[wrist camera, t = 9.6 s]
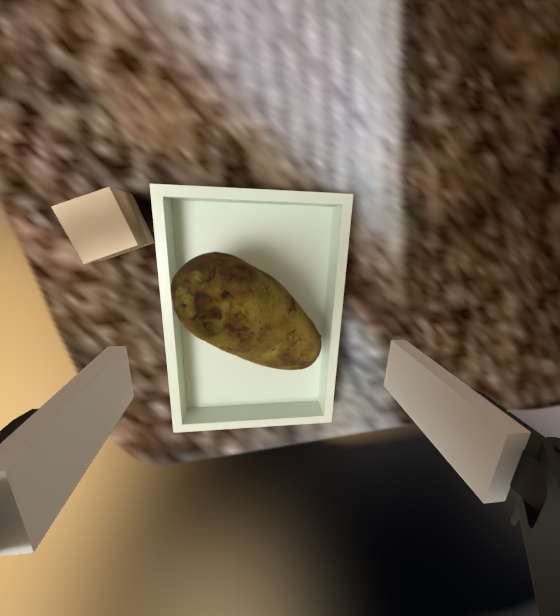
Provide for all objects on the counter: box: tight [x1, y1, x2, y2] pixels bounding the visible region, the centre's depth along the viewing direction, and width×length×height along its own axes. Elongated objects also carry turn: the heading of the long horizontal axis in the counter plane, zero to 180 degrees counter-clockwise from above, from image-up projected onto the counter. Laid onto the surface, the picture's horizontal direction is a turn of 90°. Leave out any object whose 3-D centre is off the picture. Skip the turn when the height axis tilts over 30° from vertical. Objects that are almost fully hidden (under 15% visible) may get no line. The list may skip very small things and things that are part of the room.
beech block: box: [51, 187, 155, 264], centre depth 20 cm, size 4×4×4 cm
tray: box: [150, 184, 353, 432], centre depth 24 cm, size 21×15×3 cm
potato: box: [170, 252, 322, 370], centre depth 21 cm, size 8×13×8 cm, turn 30°
